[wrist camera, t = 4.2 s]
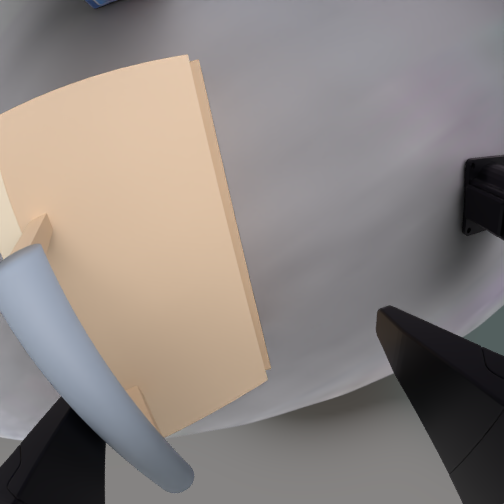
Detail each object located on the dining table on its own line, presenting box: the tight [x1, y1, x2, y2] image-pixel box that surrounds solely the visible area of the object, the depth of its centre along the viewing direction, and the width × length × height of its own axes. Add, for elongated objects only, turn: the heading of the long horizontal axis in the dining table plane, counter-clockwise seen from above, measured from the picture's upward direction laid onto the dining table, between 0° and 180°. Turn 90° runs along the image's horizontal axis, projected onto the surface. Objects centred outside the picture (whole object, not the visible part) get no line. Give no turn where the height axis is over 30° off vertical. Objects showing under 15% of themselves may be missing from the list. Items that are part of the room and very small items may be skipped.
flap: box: [0, 54, 268, 493], centre depth 10 cm, size 9×18×6 cm, turn 11°
